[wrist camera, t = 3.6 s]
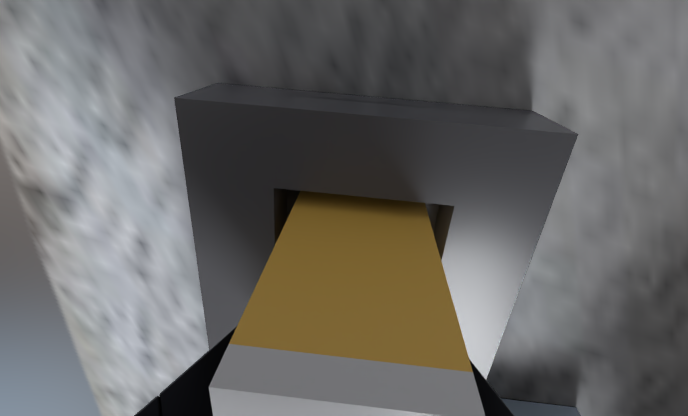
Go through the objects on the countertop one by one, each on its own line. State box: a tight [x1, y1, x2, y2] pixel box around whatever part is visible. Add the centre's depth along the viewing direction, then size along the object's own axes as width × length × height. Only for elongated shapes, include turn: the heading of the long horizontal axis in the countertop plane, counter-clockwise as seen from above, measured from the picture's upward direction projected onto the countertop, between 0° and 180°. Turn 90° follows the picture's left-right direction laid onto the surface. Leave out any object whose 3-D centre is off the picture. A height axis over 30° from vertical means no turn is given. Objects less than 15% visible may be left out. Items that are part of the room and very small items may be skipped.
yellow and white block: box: [209, 191, 485, 416], centre depth 8 cm, size 4×5×6 cm
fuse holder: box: [174, 83, 578, 379], centre depth 11 cm, size 9×10×2 cm
